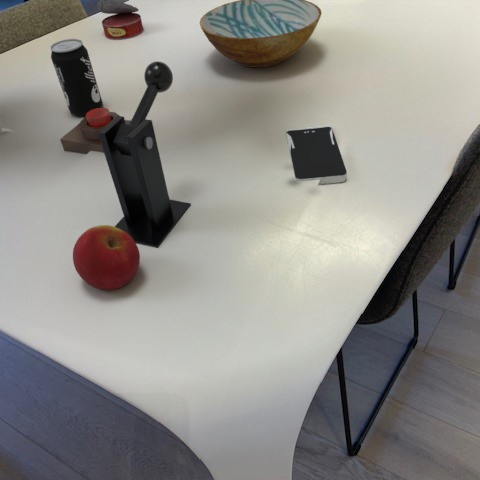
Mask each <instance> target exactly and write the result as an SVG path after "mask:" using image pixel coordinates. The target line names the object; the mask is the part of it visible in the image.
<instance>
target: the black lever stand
mask: <svg viewBox="0 0 480 480" xmlns="http://www.w3.org/2000/svg"><path fill="white" fill-rule="evenodd" d="M125 120H126V119H125V116H122V115H120V116H116V117H115V118H114V119H113V120H112V121H111V122H110V123H108V124H107V125H106V126H105V127H104V128H103V129H102V130H100V131H99V132H98V135H99V138H100V141H101V144H102V148H103V151H104V153H103V154H104V157H105V161H106V163H107V167H108V170H109V173H110V175H111V180H112V182H113V183H112V184H113V186H114V188H115V192H116V195H117V198H118V202H119V205H120V207H121V212H122V214H123V216H122V218H121V219H120V220H119V221H118V222H117V223H116V224H115V226H114V227H117V228H119V229H121V230H123V231H125V232H126V233H128V234H129V235H130V236H131V237H132V238H133V240H134V242H135V243H136V245H137V244H138V245H143V246H147V247H151V248H156V249H159V247H160V246H161V245H162V243H163V242H164V241H165V239H167V237H168V235H170V233H171V232H172V230H173V229H174V228H175V226H176V225H177V224H178V223H179V221H180V220H181V219H182V218H183V216H184V215H185V214H186V212H187V211H188V210H189V209H190V207H191V206H192V203H190V202H185V201H180V200H175V199H170V196H169V191H168V185H167V181H166V178H165V173H164V169H163V164H162V159H161V156H160V150H159V148H158V141H157V138H156V133H155V129H154V124H153V120H152V119H147V118H146V119H145V120H144V121H143V122H142V123H140V124H139V125H138V126H137V127H136V128H135V129H134V130H133V131H132V132H131V133H130V134H129V135H128V136H127V141H128V145H129V148H130V152H131V156H127V155H121V153H120V152H119V151H118V149H117V148H116V146H115V145H114V143H113V140H114V138H115V136H116V134H117V132H118V130H119V128H120V126H121V124H126V123H125Z"/></svg>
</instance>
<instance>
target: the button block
mask: <svg viewBox="0 0 480 480" xmlns="http://www.w3.org/2000/svg"><path fill="white" fill-rule="evenodd" d="M109 112H110V115H111V119H112V120H113V119H114V118H115V117H116V116H121V115H120V114H118V113H117V112H115V111H109ZM130 122H131V119H129V120H128V119H125V123H126V124H130ZM105 126H106V125H105ZM105 126H103V127H96V128H95V127H90V126H89V124H88V121H87V118H86V117H83V118H82V119H81V120H80V122H79V123H78V124H77V125H75V126H74V127H73V128H72V129H71V130H70V131H68V132H67V133H66V134H65V135H63V136H62V137H61V138H60V139H59V141H60V143H61V146H62V148H63V150H64V152H69V153H76V154H81V155H88V154H89V153H90V152H96V153H97V152H98V153H103V154H104V151H103V148H102V144H101V141H100V138H99V135H98V132H99V131H100V130H102V129H103V128H104V127H105Z"/></svg>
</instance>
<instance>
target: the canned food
mask: <svg viewBox="0 0 480 480" xmlns="http://www.w3.org/2000/svg"><path fill="white" fill-rule="evenodd" d="M96 6H97V7H96V8H97V11H98V12H99V13H102V14H105V15H106V14H107V15H109V16H107V17H105V18H104V19H102V21H101V25H102V29H103V33H104V36H105V38H107V39H109V40H114V41H115V40H117V41H118V40H119V41H120V40H126V39H127V40H128V39H131V38H134V37H137V36H139V35H141V34H142V33H143V32H144V26H143V22H142V16H141V15H140V14H139V13H136V12H139V10H140V9H139V8H137V7H136V6H133V5H131V4H128V3H126V2H123V1H118V0H99V1H98V2H97V5H96Z"/></svg>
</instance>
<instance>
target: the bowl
mask: <svg viewBox="0 0 480 480" xmlns="http://www.w3.org/2000/svg"><path fill="white" fill-rule="evenodd" d="M322 13H323V12H322V10H321V8H320V7H319V6H318V5H317V4H315V3H313V2H311V1H308V0H235V1H231V2H227V3H224V4H222V5H219V6H217V7H214V8H212V9H210V10H209V11H208V12H206V13H205V14H204V15H202V17H201V18H200V21H199V26H200V28H201V30H202V32H203V35H204V36H205V37H206V38H207V40H208V42H209V43H210V44H211V45H212V46H213V47H214V48H215V50H217V51H218V52H219V53H220V54H221V55H223V57H226V58H228V59H229V60H231V61H233V62H235V63H237V64H240V65H241V66H245V67H248V68H266V67H271V66H276V65H279V64H280V63H282V62H284V61H285V60H288V59H289V58H290V57H291V56H293V55H294V54H296V53H297V52H299V51H300V50H301V49H302V47H303V46H304V45H305V44H306V43H307V42H308V41H309V39H310V38H311V37H312V35H313V33H314V31H315V29H316V28H317V26H318V24H319V21H320V20H321V17H322Z"/></svg>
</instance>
